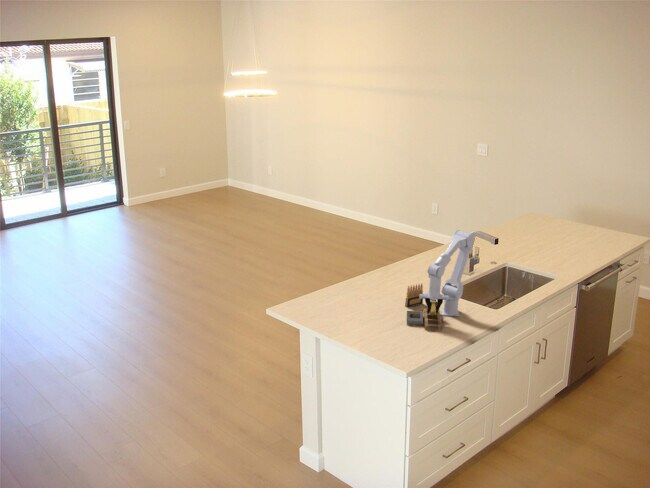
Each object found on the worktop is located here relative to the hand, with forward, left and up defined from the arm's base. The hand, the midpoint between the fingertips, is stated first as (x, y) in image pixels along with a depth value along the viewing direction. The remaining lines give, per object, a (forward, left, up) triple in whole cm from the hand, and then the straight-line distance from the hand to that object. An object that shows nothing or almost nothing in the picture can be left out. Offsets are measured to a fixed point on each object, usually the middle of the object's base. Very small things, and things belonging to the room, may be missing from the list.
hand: (432, 312), depth 365 cm
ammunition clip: (-20, -9, -6) cm, 23 cm away
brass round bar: (0, 0, -3) cm, 3 cm away
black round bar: (-7, 0, -5) cm, 8 cm away
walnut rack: (0, 0, -5) cm, 5 cm away
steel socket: (0, -9, -5) cm, 10 cm away
